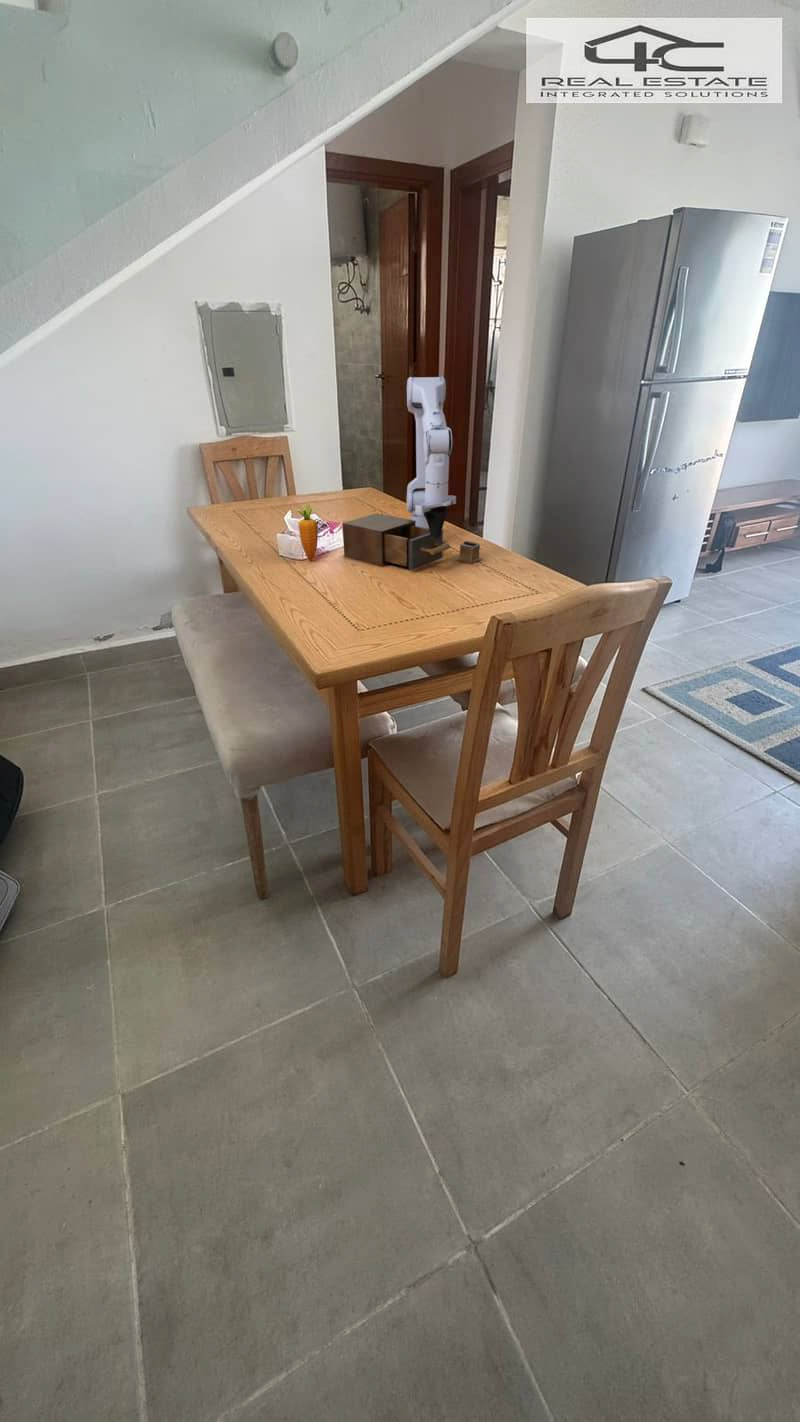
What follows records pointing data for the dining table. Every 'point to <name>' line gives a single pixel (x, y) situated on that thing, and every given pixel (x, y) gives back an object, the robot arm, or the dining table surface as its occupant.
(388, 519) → the cabinet
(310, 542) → the carrot
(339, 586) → the dining table surface
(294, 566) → the dining table surface
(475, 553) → the striped metal cube
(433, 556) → the drawer
